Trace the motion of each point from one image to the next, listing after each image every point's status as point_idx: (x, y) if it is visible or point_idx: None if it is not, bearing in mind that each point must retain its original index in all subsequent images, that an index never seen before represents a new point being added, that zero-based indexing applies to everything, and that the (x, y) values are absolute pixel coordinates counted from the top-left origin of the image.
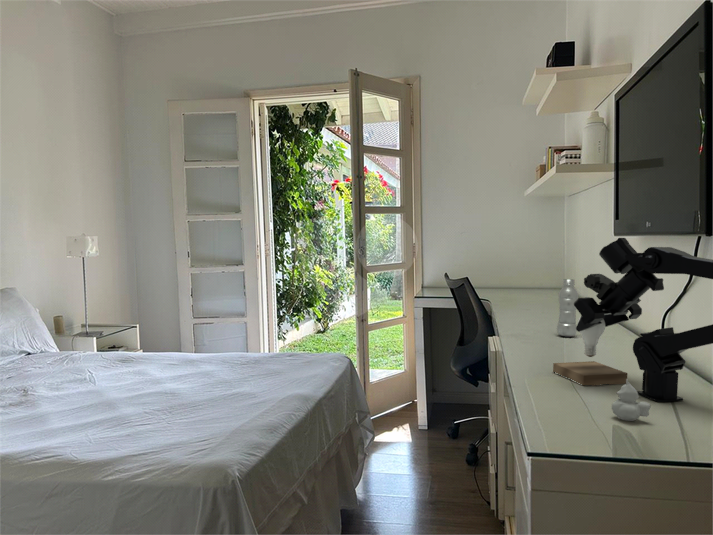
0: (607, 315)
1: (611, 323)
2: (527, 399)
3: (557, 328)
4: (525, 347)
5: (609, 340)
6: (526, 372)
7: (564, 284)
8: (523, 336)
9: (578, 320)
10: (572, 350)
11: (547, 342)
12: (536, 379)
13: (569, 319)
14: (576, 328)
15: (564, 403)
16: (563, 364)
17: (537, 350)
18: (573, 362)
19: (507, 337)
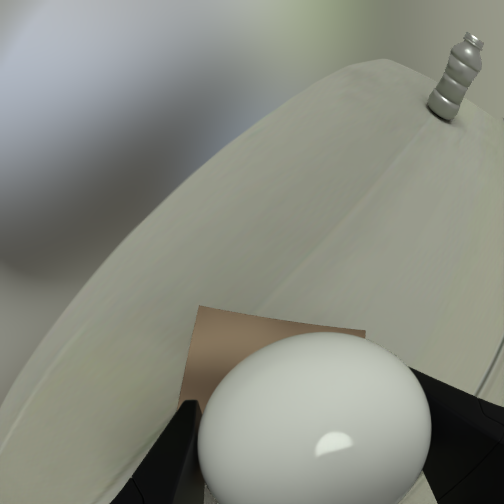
0: (472, 462)
1: (433, 483)
2: (2, 431)
3: (430, 95)
4: (328, 113)
5: (489, 158)
6: (134, 278)
7: (465, 39)
8: (370, 82)
9: (223, 388)
10: (415, 165)
11: (393, 114)
12: (102, 346)
13: (452, 94)
14: (184, 405)
15: (44, 491)
16: (218, 334)
17: (339, 134)
18: (280, 323)
19: (337, 74)
